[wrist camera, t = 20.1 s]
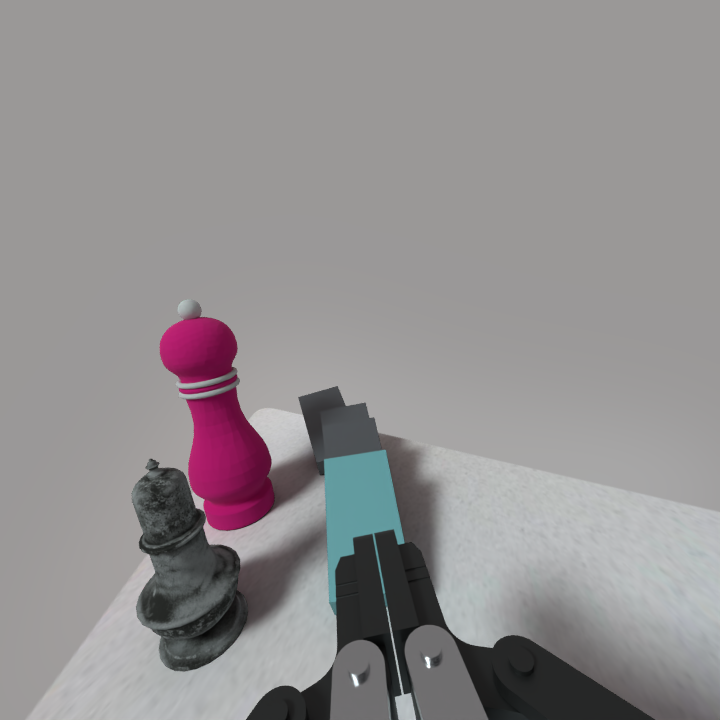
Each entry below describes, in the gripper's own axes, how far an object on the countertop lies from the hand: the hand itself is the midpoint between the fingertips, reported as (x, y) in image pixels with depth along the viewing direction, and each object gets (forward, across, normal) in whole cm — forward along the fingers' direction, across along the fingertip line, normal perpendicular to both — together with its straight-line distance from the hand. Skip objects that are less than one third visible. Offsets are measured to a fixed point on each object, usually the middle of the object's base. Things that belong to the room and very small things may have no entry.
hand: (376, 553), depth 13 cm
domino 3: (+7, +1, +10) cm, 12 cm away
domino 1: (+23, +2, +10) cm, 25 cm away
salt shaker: (+8, +12, +11) cm, 18 cm away
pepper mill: (+20, +12, +11) cm, 26 cm away
